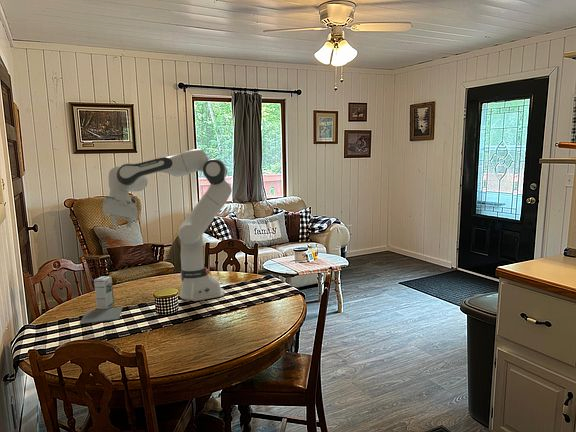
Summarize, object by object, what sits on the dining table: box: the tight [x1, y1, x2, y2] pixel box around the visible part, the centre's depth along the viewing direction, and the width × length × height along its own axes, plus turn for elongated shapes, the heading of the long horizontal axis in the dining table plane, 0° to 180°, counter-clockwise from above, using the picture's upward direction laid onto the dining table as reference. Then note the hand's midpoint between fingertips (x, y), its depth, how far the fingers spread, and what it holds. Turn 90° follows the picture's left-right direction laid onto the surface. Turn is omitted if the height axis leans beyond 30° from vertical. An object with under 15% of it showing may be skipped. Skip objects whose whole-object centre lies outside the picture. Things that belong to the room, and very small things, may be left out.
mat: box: [79, 306, 123, 325], centre depth 193 cm, size 16×16×1 cm
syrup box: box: [93, 275, 115, 310], centre depth 204 cm, size 6×6×14 cm
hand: (122, 226), depth 205 cm, fingers open, 8 cm apart
